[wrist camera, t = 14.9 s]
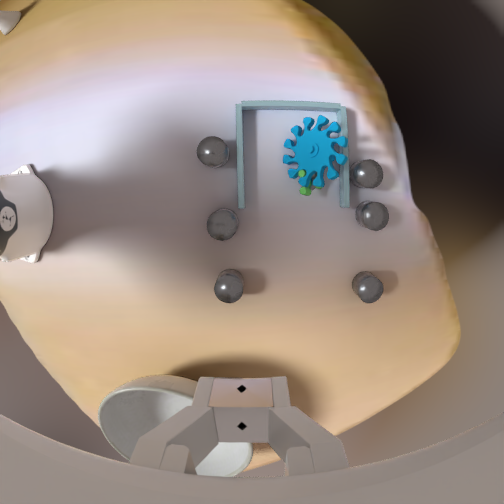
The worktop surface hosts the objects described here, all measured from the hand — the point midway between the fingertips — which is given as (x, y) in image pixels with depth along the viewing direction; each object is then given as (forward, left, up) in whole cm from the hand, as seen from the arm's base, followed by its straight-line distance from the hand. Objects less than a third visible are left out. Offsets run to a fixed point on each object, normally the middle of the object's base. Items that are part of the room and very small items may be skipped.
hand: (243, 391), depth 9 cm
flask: (-59, +58, -33) cm, 89 cm away
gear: (+8, +11, -33) cm, 36 cm away
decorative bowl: (-14, -32, -33) cm, 48 cm away
